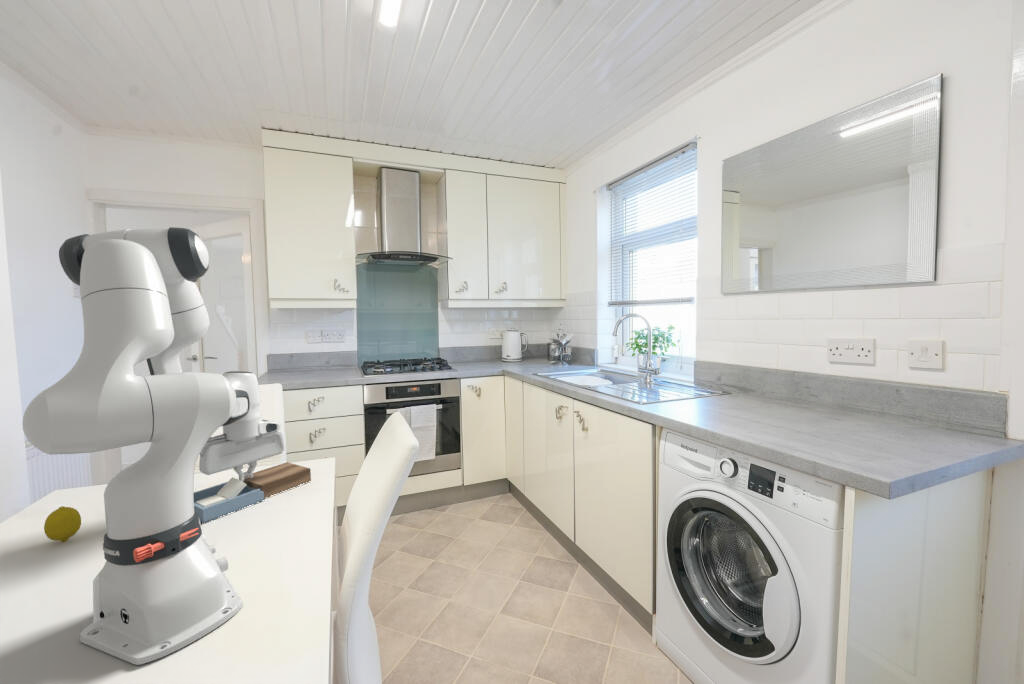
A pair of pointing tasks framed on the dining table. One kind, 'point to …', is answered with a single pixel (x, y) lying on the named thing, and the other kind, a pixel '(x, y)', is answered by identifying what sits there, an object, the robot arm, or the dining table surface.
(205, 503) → the tile front
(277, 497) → the dining table surface
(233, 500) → the box
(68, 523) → the lemon
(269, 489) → the flat wooden block
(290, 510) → the dining table surface
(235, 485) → the tile rear
